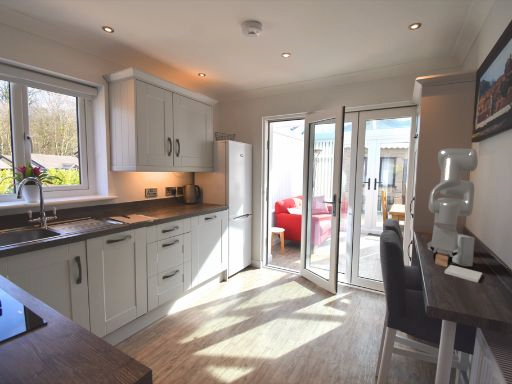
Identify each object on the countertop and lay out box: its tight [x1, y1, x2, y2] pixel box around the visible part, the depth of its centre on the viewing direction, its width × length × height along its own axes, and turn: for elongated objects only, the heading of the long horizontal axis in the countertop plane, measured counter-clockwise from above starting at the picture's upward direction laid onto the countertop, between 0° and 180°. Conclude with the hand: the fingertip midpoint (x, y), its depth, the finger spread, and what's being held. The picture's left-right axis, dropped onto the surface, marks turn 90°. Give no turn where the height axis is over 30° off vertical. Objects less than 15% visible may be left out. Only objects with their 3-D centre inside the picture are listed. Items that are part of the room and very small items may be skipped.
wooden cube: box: [434, 252, 450, 268], centre depth 133 cm, size 5×5×5 cm
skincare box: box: [452, 233, 476, 267], centre depth 135 cm, size 8×6×15 cm
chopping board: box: [444, 264, 483, 284], centre depth 121 cm, size 12×12×1 cm
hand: (442, 261), depth 133 cm, fingers closed on wooden cube, 5 cm apart
